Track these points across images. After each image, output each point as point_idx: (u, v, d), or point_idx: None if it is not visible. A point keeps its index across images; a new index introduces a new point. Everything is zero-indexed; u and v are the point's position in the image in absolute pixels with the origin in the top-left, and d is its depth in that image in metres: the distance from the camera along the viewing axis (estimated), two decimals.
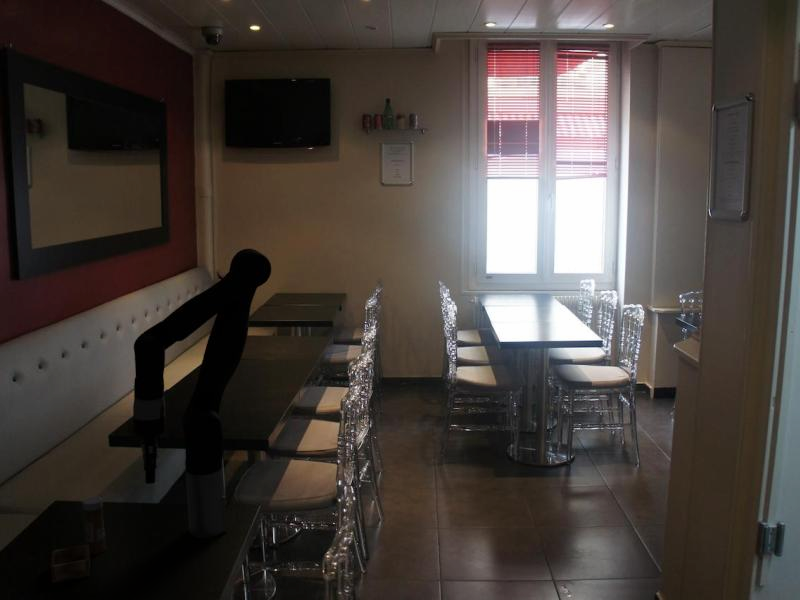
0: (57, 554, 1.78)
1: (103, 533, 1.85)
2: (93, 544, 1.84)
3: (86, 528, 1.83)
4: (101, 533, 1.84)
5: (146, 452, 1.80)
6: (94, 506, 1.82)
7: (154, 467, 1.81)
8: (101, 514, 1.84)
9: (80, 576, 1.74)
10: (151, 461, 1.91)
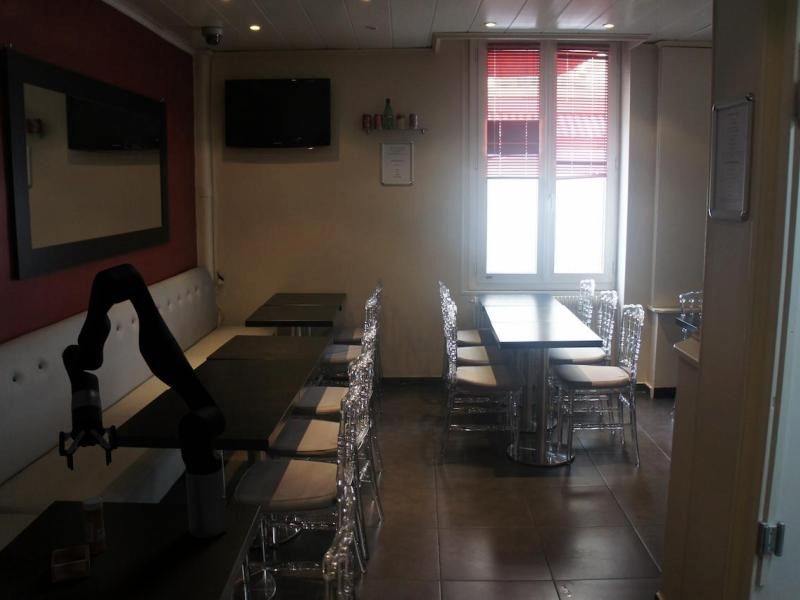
0: (57, 554, 1.78)
1: (103, 533, 1.85)
2: (93, 544, 1.84)
3: (86, 528, 1.83)
4: (101, 533, 1.84)
5: None
6: (94, 506, 1.82)
7: None
8: (101, 514, 1.84)
9: (80, 576, 1.74)
10: None
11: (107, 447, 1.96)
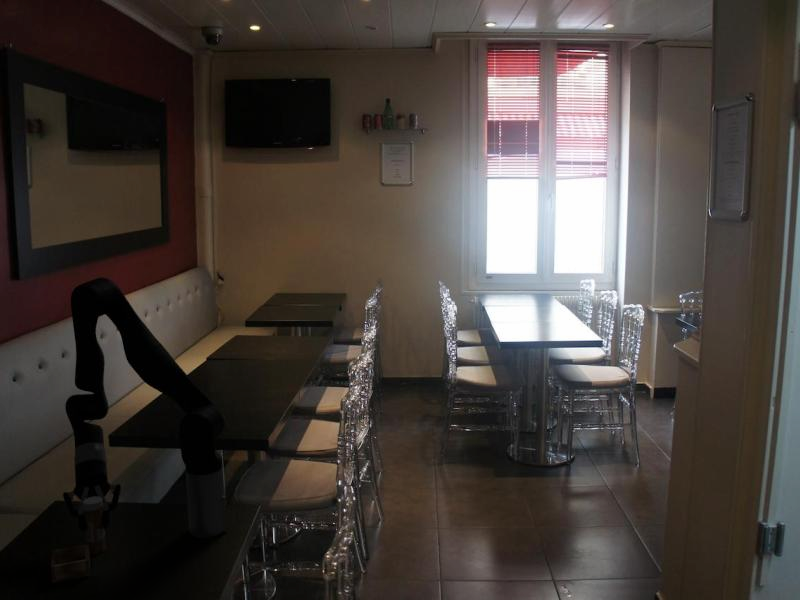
0: (57, 554, 1.78)
1: (103, 533, 1.85)
2: (93, 544, 1.84)
3: (86, 528, 1.83)
4: (101, 533, 1.84)
5: (65, 502, 1.86)
6: (94, 506, 1.82)
7: (70, 513, 1.83)
8: (101, 514, 1.84)
9: (80, 576, 1.74)
10: (103, 517, 1.85)
11: (105, 509, 1.85)
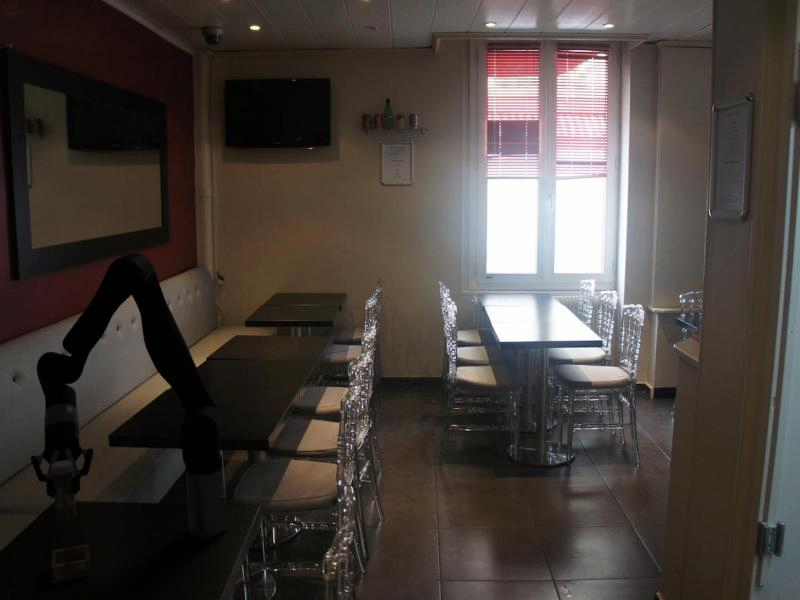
0: (57, 554, 1.78)
1: (74, 500, 1.74)
2: (63, 510, 1.72)
3: (55, 493, 1.72)
4: (71, 500, 1.73)
5: (33, 466, 1.74)
6: (63, 470, 1.70)
7: None
8: (71, 479, 1.73)
9: (80, 576, 1.74)
10: (73, 482, 1.73)
11: (75, 473, 1.74)
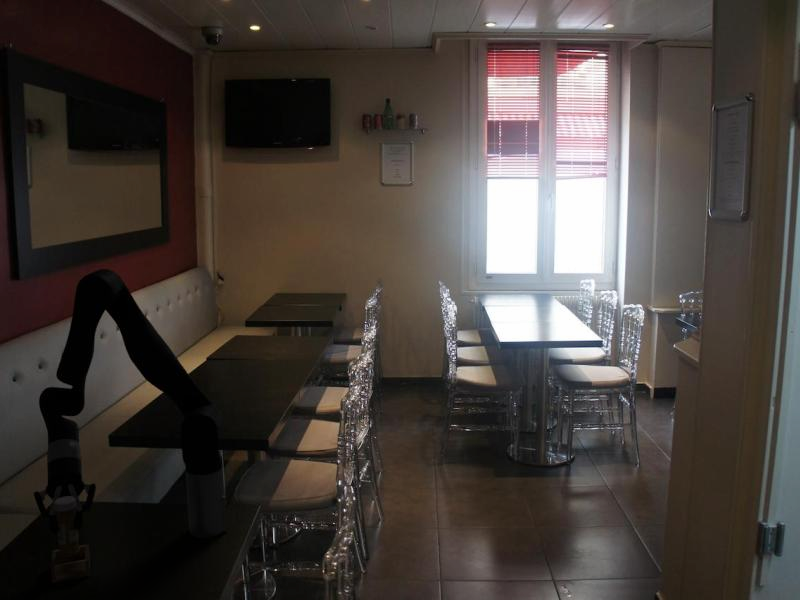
0: (57, 554, 1.78)
1: (76, 535, 1.75)
2: (66, 546, 1.73)
3: (58, 529, 1.73)
4: (74, 535, 1.74)
5: (36, 501, 1.76)
6: (66, 507, 1.72)
7: (41, 513, 1.73)
8: (74, 515, 1.74)
9: (80, 576, 1.74)
10: (76, 518, 1.74)
11: (78, 509, 1.75)
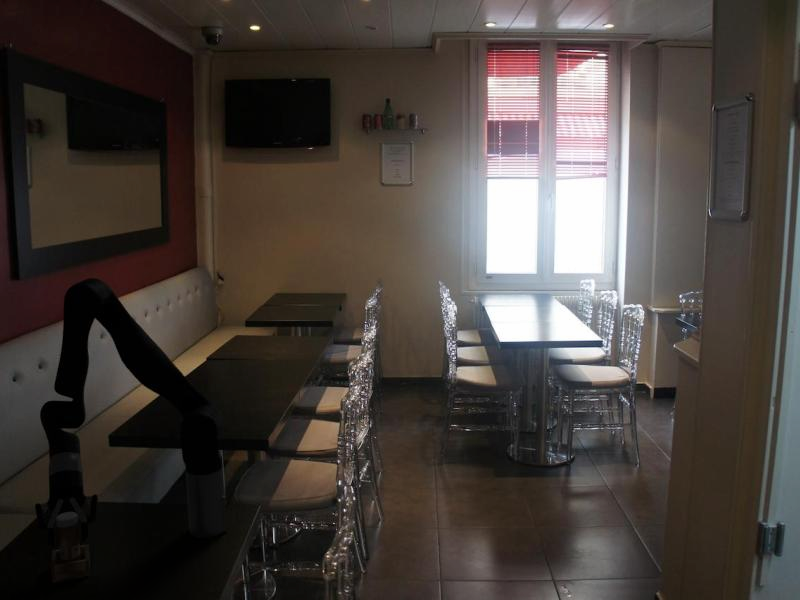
0: (57, 554, 1.78)
1: (79, 550, 1.76)
2: None
3: (60, 545, 1.74)
4: (76, 551, 1.75)
5: None
6: (68, 523, 1.72)
7: (39, 526, 1.73)
8: (76, 530, 1.75)
9: (80, 576, 1.74)
10: (81, 530, 1.75)
11: (83, 521, 1.76)
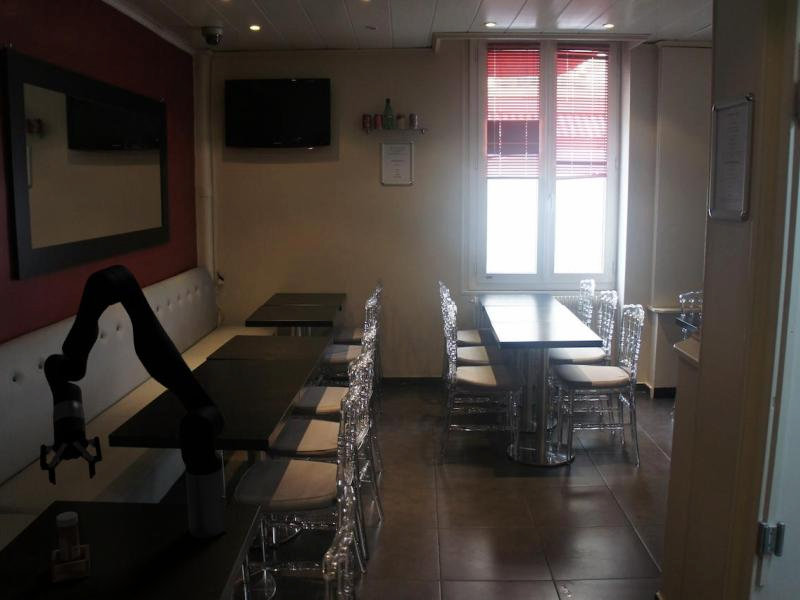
0: (57, 554, 1.78)
1: (79, 550, 1.76)
2: None
3: (60, 545, 1.74)
4: (76, 551, 1.75)
5: None
6: (68, 522, 1.73)
7: (40, 465, 1.85)
8: (76, 530, 1.75)
9: (80, 576, 1.74)
10: (89, 467, 1.88)
11: (90, 459, 1.89)
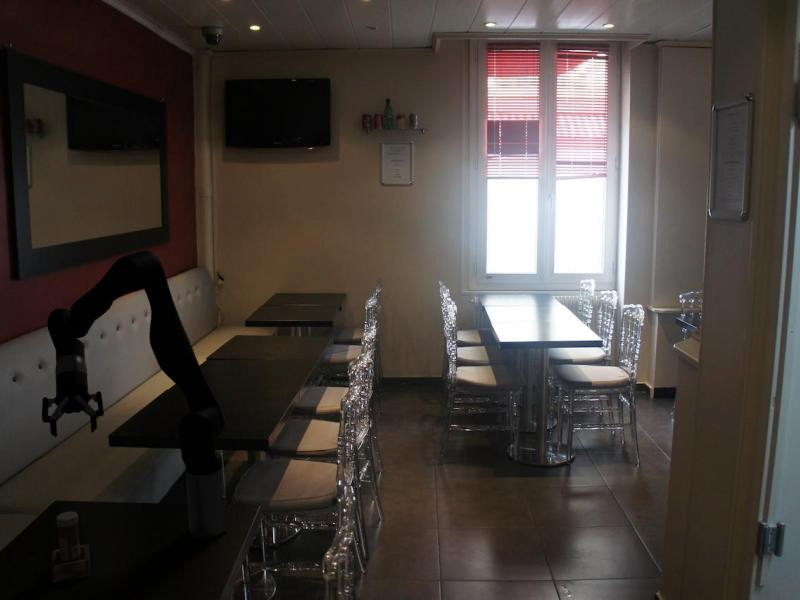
0: (57, 554, 1.78)
1: (79, 550, 1.76)
2: None
3: (60, 545, 1.74)
4: (77, 551, 1.75)
5: None
6: (68, 522, 1.73)
7: None
8: (76, 530, 1.75)
9: (80, 576, 1.74)
10: None
11: (92, 413, 1.89)
